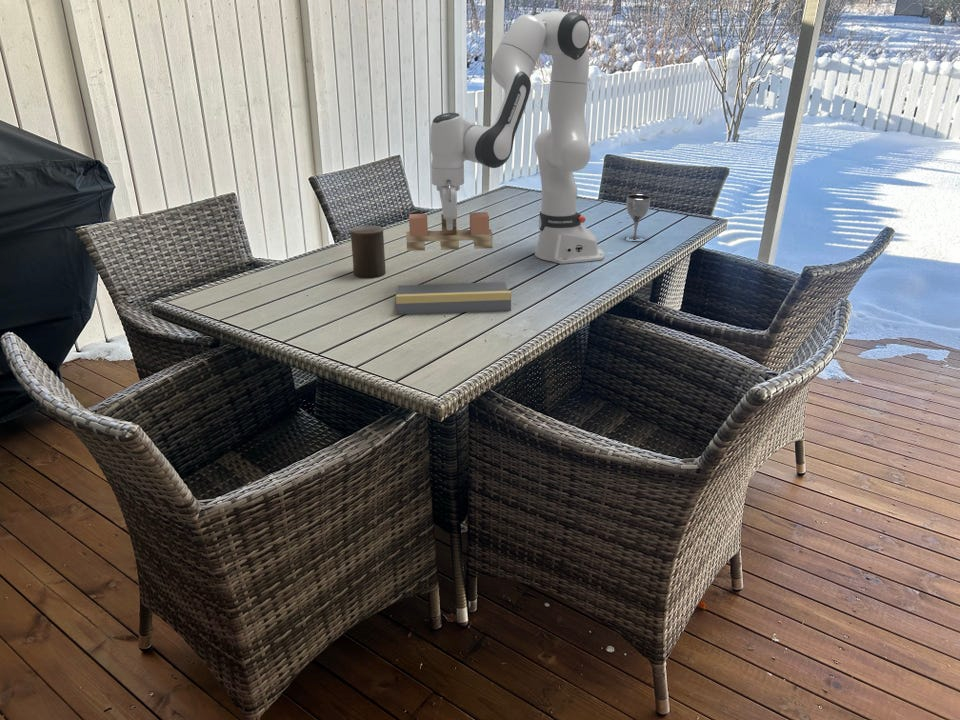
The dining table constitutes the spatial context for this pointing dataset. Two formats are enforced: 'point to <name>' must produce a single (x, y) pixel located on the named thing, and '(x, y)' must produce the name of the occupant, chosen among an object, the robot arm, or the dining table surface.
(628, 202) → the wine glass
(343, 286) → the dining table surface
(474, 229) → the block
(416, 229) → the block
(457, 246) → the pallet
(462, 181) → the robot arm
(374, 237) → the pillar candle
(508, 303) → the dock
